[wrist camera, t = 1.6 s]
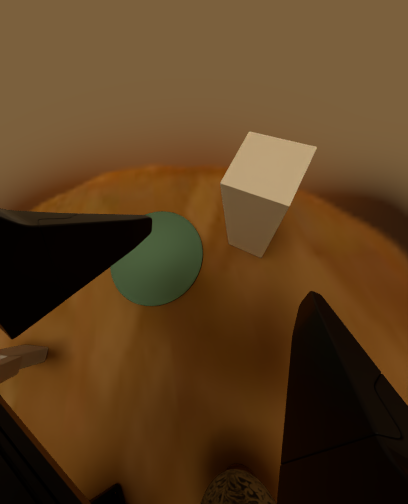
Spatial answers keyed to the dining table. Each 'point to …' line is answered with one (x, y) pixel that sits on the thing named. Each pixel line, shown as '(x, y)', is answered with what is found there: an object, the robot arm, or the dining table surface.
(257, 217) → the cream block
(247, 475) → the dark grey rounded piece
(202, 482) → the dining table surface
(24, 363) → the lighter
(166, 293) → the green mat
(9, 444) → the robot arm
